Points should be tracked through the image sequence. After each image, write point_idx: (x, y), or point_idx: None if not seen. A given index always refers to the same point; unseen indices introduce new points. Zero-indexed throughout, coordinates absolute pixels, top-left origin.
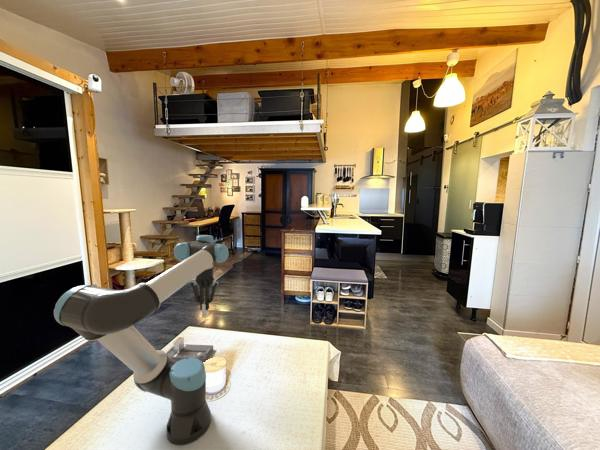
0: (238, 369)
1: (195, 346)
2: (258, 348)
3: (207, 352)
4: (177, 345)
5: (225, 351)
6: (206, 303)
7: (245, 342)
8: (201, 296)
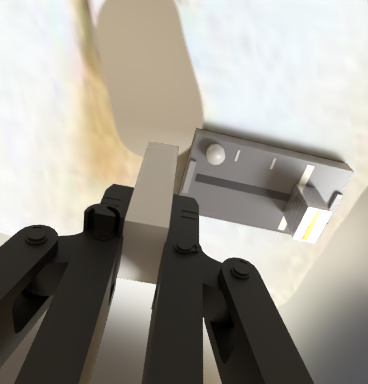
0: (55, 68)
1: (241, 214)
2: (7, 182)
3: (188, 167)
4: (310, 201)
5: (129, 185)
6: (94, 211)
7: (66, 224)
8: (170, 325)
